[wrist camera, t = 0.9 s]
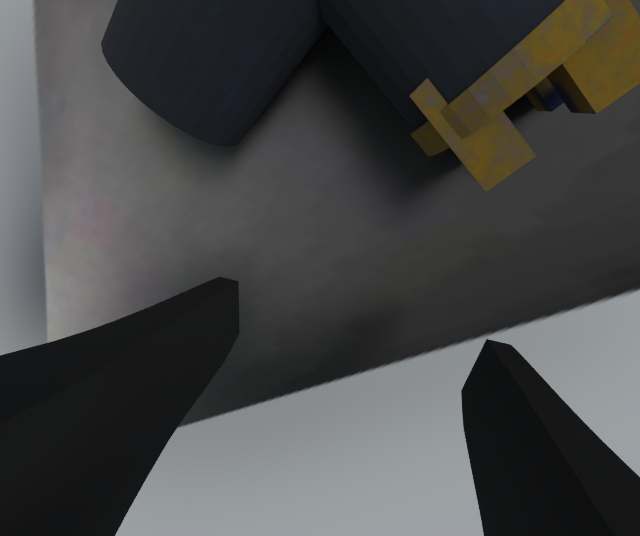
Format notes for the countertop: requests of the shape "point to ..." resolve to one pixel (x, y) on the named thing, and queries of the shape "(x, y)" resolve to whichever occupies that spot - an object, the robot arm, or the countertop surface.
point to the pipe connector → (382, 63)
